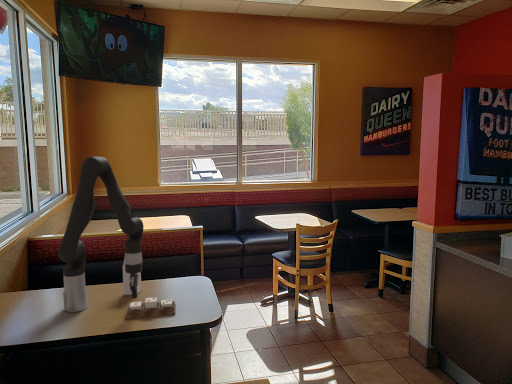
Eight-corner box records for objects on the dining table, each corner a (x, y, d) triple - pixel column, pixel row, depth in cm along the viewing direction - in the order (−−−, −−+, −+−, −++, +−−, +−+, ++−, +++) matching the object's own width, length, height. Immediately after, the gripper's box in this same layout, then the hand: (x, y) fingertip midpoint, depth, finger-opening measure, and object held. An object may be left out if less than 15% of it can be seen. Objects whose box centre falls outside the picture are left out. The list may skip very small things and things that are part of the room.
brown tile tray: (125, 318, 180) (125, 311, 179) (128, 309, 189) (128, 303, 189) (175, 314, 183) (175, 307, 183) (176, 305, 193) (175, 299, 193)
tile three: (161, 310, 185) (160, 304, 184) (161, 306, 189) (161, 299, 189) (172, 309, 185) (171, 303, 185) (172, 305, 190) (172, 299, 190)
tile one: (129, 313, 182) (129, 306, 182) (131, 308, 187) (130, 302, 187) (141, 312, 183) (140, 305, 183) (142, 307, 188) (141, 301, 188)
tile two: (145, 308, 183) (145, 301, 183) (146, 304, 188) (146, 297, 188) (156, 307, 184) (156, 301, 184) (157, 303, 189) (157, 296, 188)
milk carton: (137, 295, 207) (135, 259, 205) (123, 295, 207) (121, 259, 205) (141, 290, 214) (139, 255, 212) (128, 290, 214) (126, 255, 212)
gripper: (127, 257, 188) (128, 292, 190) (122, 266, 175) (123, 304, 177) (143, 256, 189) (144, 291, 191) (140, 265, 176) (141, 303, 178)
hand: (134, 297), depth 184 cm, fingers closed
